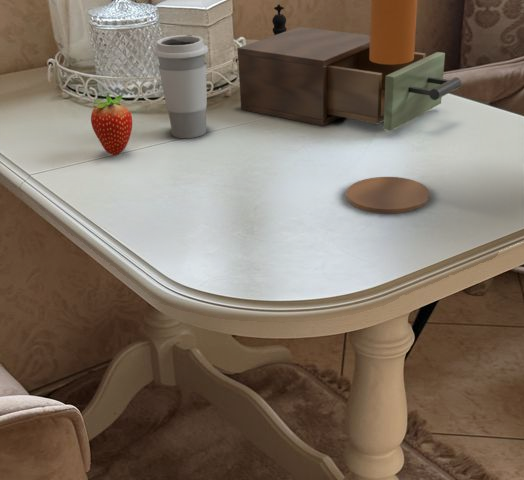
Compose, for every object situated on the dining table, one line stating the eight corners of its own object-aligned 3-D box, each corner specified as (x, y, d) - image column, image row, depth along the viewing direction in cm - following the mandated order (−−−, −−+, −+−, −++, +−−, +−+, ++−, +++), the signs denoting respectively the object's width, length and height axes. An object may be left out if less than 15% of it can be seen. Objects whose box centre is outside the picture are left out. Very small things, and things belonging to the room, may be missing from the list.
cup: (223, 127, 109) (216, 35, 102) (201, 143, 104) (192, 48, 97) (178, 122, 111) (168, 33, 105) (154, 138, 106) (142, 45, 100)
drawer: (471, 108, 108) (476, 56, 104) (422, 137, 99) (426, 82, 95) (359, 89, 117) (360, 41, 113) (306, 114, 109) (305, 63, 105)
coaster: (426, 180, 90) (426, 176, 90) (432, 213, 82) (432, 209, 82) (346, 181, 91) (346, 176, 91) (345, 213, 83) (346, 209, 83)
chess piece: (268, 64, 135) (266, 2, 129) (294, 64, 134) (293, 1, 129) (266, 71, 131) (264, 7, 126) (293, 71, 131) (291, 6, 125)
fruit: (88, 155, 102) (77, 93, 97) (120, 144, 105) (111, 83, 100) (114, 164, 99) (104, 100, 94) (146, 152, 102) (138, 89, 97)
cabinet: (380, 98, 116) (382, 36, 112) (323, 126, 107) (323, 60, 102) (300, 84, 124) (299, 26, 119) (241, 109, 115) (237, 47, 110)
